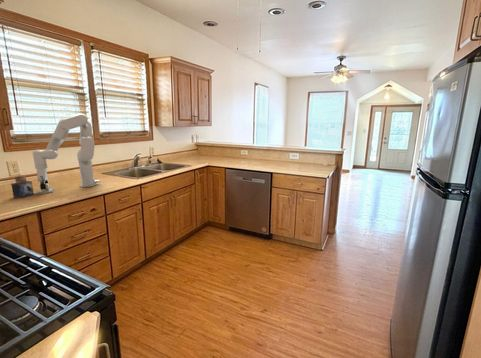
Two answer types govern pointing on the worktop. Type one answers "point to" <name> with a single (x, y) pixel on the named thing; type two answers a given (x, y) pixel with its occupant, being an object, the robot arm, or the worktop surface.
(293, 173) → the worktop surface
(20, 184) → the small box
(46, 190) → the oak cube
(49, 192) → the grey square plate
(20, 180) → the walnut cube
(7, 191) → the worktop surface
